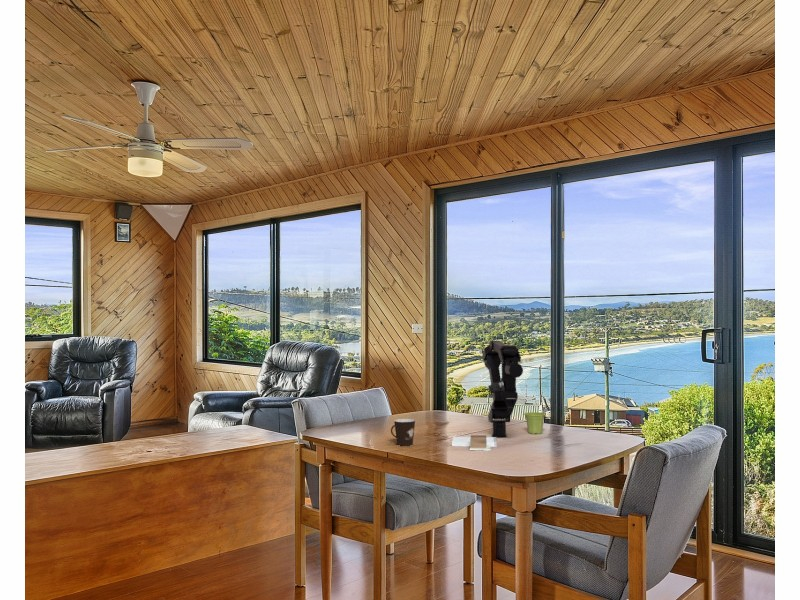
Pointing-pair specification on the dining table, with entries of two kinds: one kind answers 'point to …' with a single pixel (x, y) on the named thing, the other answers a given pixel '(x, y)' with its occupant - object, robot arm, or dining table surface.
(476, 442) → the block
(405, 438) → the coffee mug
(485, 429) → the dining table surface
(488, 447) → the coaster
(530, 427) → the plant pot
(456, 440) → the channel
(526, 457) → the dining table surface
